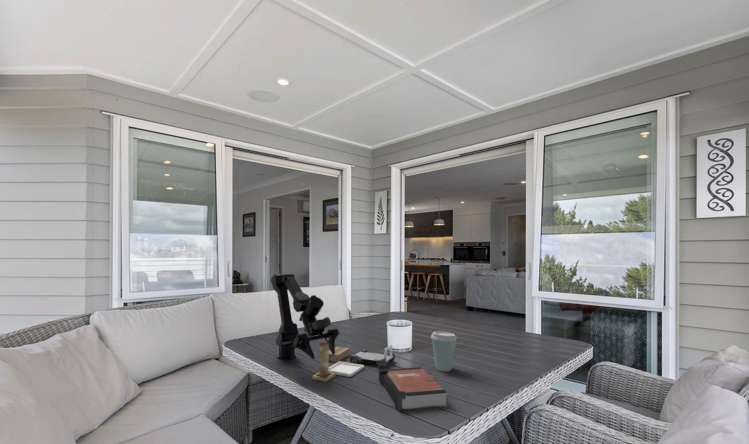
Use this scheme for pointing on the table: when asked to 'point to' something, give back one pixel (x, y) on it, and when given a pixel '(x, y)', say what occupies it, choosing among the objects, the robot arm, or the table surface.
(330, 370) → the tray
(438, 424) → the table surface
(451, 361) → the disposable coffee cup
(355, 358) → the trolley
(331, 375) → the pin socket
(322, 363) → the pin
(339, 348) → the bar
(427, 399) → the book
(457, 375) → the table surface
